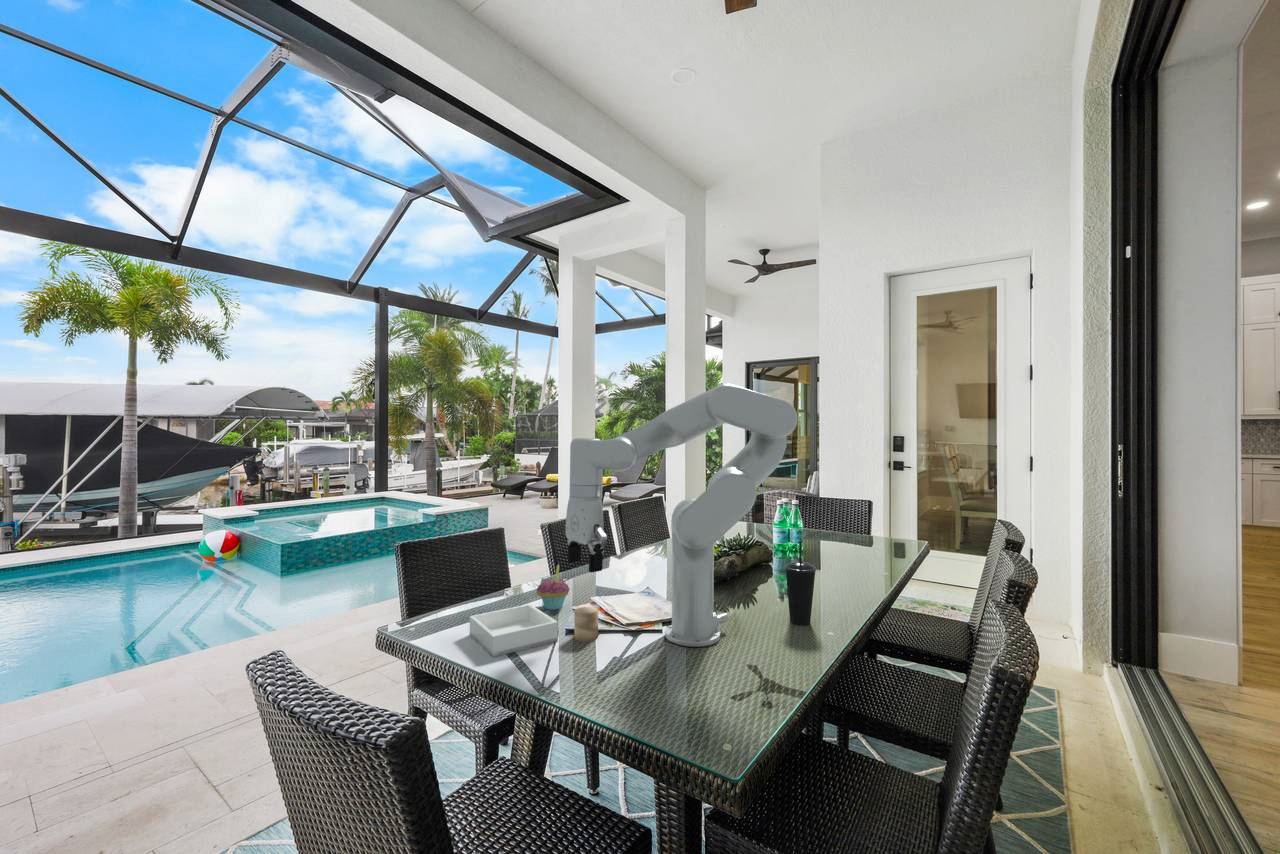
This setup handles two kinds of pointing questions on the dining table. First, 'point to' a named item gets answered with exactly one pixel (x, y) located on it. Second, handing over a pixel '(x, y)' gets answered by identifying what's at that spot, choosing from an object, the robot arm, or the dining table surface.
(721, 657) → the dining table surface
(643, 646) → the dining table surface
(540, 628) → the serving dish
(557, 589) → the cupcake
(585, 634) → the beige cylinder
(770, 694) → the dining table surface
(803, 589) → the drinking cup
